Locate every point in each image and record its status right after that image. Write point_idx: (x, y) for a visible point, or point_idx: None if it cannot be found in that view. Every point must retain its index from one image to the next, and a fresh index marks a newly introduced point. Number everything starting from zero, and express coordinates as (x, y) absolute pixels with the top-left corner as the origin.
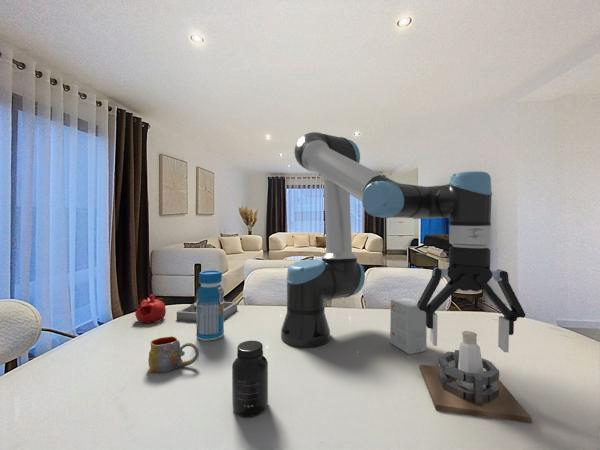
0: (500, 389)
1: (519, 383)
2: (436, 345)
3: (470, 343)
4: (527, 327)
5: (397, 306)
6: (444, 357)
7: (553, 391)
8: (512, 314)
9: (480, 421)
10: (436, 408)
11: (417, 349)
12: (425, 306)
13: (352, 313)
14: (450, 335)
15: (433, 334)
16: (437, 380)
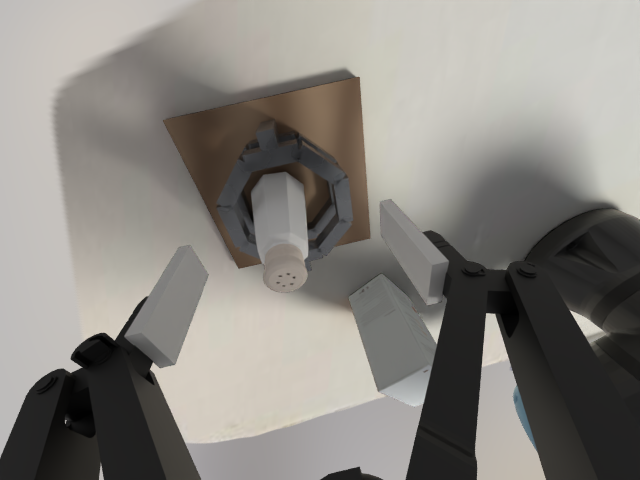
0: None
1: None
2: (381, 202)
3: (283, 244)
4: (187, 423)
5: None
6: (339, 221)
7: (138, 258)
8: (92, 372)
9: (266, 73)
10: (355, 77)
11: (366, 289)
12: (518, 281)
13: None
14: (302, 359)
15: (406, 216)
16: None
